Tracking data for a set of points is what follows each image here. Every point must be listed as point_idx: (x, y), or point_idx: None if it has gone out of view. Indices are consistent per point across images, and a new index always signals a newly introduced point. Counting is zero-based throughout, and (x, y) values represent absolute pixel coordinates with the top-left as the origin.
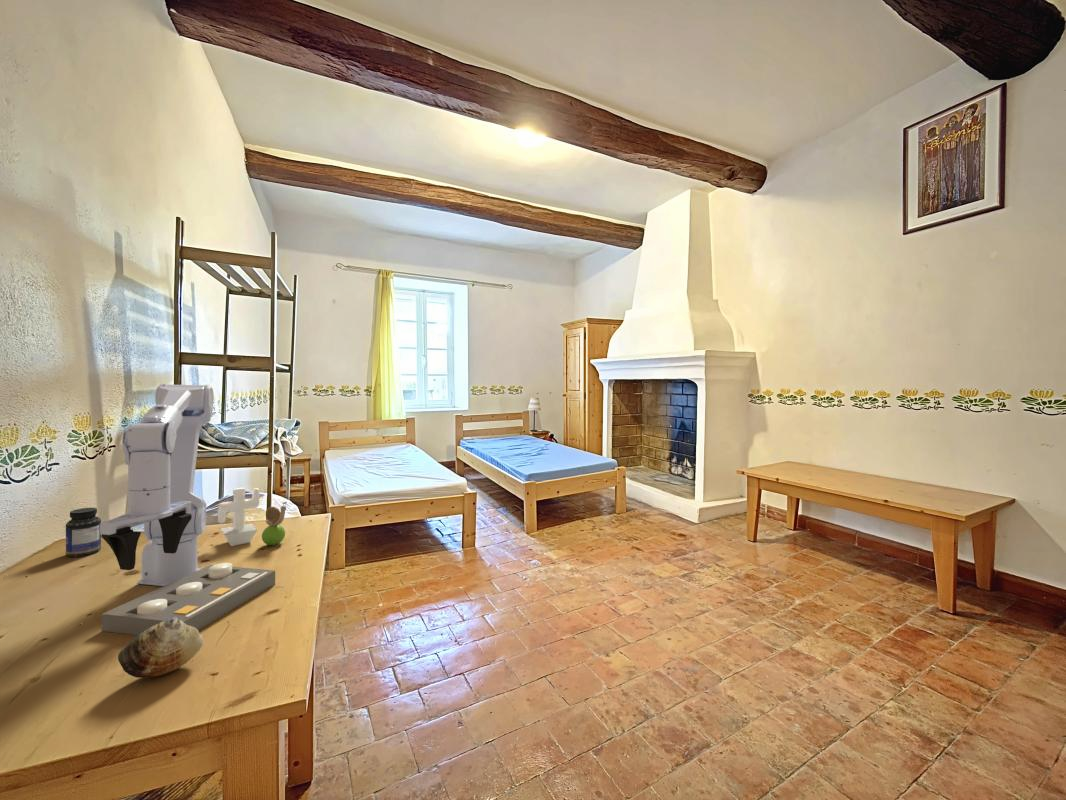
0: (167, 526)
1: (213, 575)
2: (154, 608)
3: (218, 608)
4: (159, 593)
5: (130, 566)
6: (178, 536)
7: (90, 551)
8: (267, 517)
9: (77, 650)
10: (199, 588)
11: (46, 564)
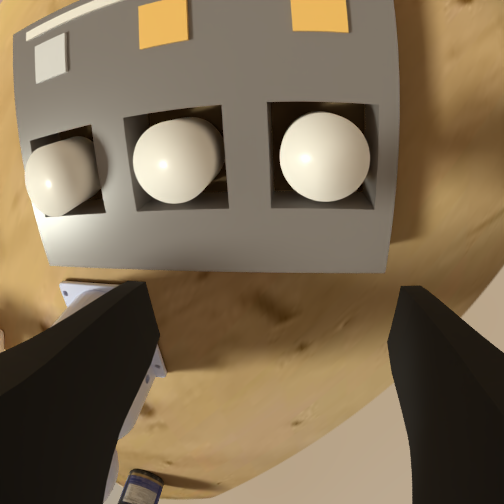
0: (77, 462)
1: (84, 167)
2: (348, 121)
3: None
4: (233, 231)
5: (432, 295)
6: (63, 336)
7: (144, 474)
8: None
9: (451, 214)
10: (163, 122)
11: (187, 485)
